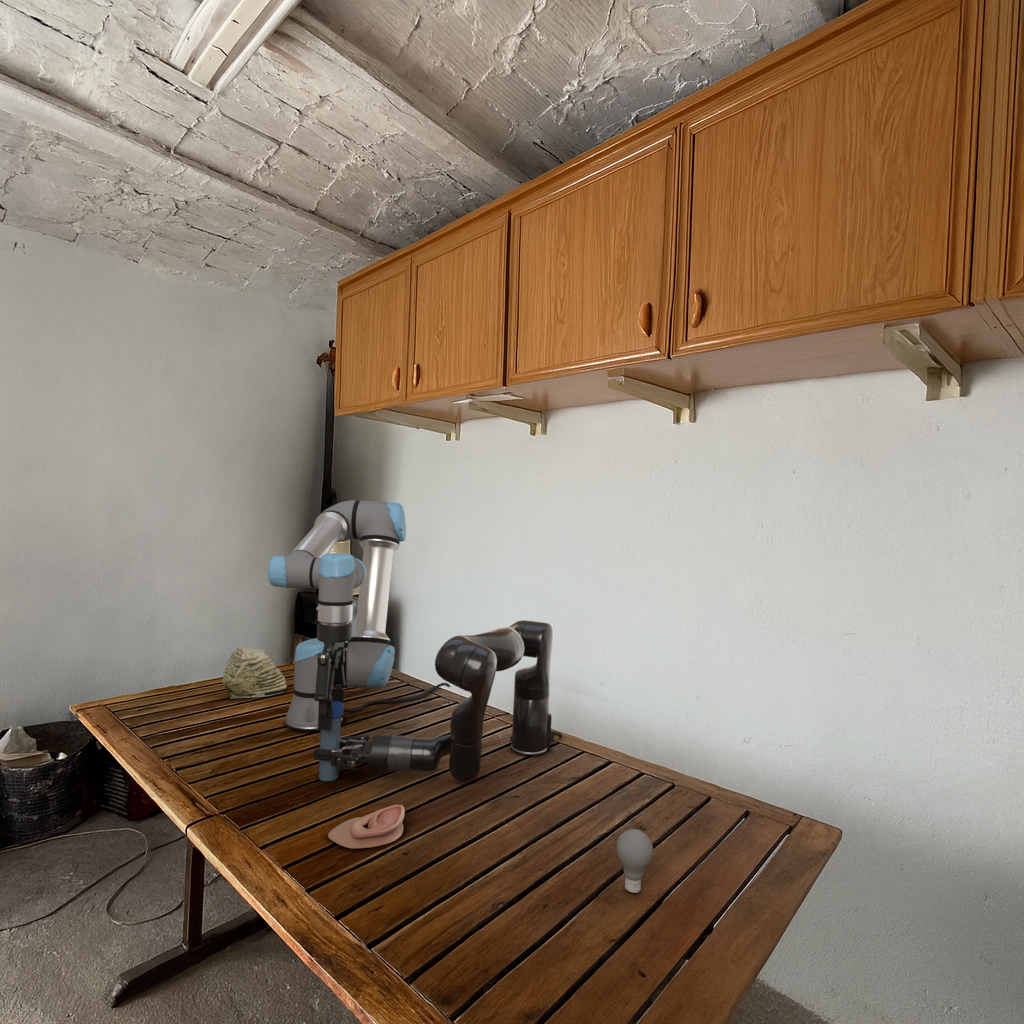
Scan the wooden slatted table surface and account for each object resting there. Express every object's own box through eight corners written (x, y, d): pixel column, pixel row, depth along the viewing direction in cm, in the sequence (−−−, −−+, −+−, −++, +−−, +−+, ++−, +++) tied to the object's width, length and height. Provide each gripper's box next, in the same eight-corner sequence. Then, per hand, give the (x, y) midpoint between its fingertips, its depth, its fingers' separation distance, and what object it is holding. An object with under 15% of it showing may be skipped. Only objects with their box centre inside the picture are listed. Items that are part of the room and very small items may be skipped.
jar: (342, 777, 143) (345, 708, 143) (324, 783, 140) (326, 711, 140) (333, 771, 146) (336, 703, 146) (315, 776, 143) (318, 706, 143)
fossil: (218, 695, 195) (220, 647, 195) (278, 685, 208) (279, 640, 207) (228, 703, 189) (230, 653, 188) (289, 692, 201) (290, 645, 201)
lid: (319, 711, 145) (319, 701, 145) (343, 709, 146) (343, 700, 146) (318, 718, 140) (319, 709, 140) (343, 717, 141) (343, 707, 141)
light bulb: (610, 879, 108) (613, 822, 108) (644, 879, 109) (647, 822, 109) (619, 902, 102) (622, 840, 102) (655, 901, 103) (658, 840, 103)
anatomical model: (320, 822, 115) (348, 794, 127) (319, 843, 116) (348, 813, 127) (388, 833, 113) (411, 803, 124) (387, 855, 113) (410, 823, 124)
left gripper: (334, 613, 153) (330, 707, 153) (300, 630, 133) (296, 738, 133) (364, 615, 152) (361, 709, 153) (335, 632, 132) (331, 741, 133)
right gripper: (399, 725, 150) (327, 722, 150) (387, 749, 136) (307, 745, 136) (398, 756, 150) (326, 753, 150) (385, 783, 136) (306, 780, 136)
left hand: (330, 723), depth 143 cm, fingers open, 7 cm apart
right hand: (318, 749), depth 143 cm, fingers closed on jar, 4 cm apart
